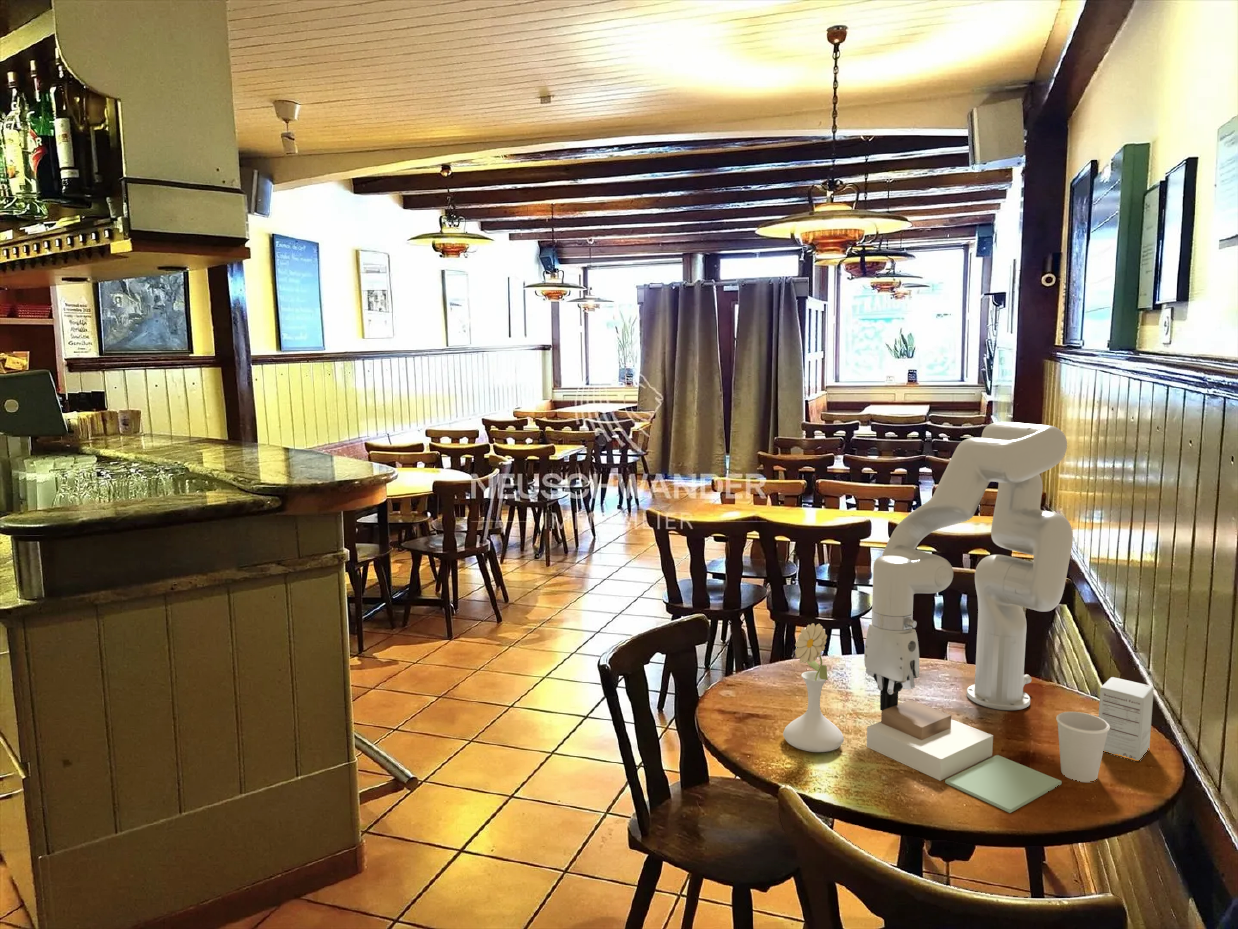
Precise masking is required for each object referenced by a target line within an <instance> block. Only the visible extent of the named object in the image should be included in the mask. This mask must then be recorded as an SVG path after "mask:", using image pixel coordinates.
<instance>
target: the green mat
mask: <svg viewBox="0 0 1238 929" xmlns="http://www.w3.org/2000/svg"><path fill="white" fill-rule="evenodd" d="M944 780H945V782H944V783H945V784H947V785H948V786H951V787H952V788H955V789H957V790H959V791H961V792H964V793H966V794H968V795H970V796H972V797H974V798H976V799H979V800H981V801H983V802H985V803H988V804H990V805H992V806H994V807H996V808H998V809H1001V810H1003V811H1005V812H1007V813H1009V814H1011V813H1013V812H1015V811H1016V810H1018V809H1020V808H1021V807H1024V806H1025V805H1027V804H1029V803H1031V802H1033V801H1034V800H1036V799H1038V798H1039V797H1041V796H1044V795H1045V794H1047V793H1048V791H1049V792H1050V791H1052V790H1054V789H1056V788H1057V786H1058V785H1059V786H1061V785H1062V780H1061V779H1058V778H1055V777H1052V776H1050V775H1047V774H1045V773H1043V772H1040V771H1038V770H1037V769H1033V768H1031V767H1028V766H1026V765H1023V764H1020V763H1019V762H1016V761H1013V760H1011V759H1008V758H1007V757H1003V756H1001V755H999V754H996V755H993V756H991V757H988V758H986V759H984V760H982V761H980V762H978V763H976V764H974V765H972V766H970V767H968V768H966V769H964V770H962V771H960V772H957V773H955V774H953V775H951V776H949V777H947V778H945V779H944ZM1059 786H1058V787H1059ZM1055 787H1056V788H1055Z"/></svg>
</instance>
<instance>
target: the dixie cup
mask: <svg viewBox="0 0 1238 929" xmlns="http://www.w3.org/2000/svg"><path fill="white" fill-rule="evenodd" d="M1055 719H1056V722H1057V732H1058V744H1059V745H1058V746H1059V747H1058V748H1059V757H1060V758H1059V759H1060V761H1059V762H1060V771H1061V773H1062V775H1063V776H1064V775H1065V776H1064V777H1066V778H1068V779H1069V780H1072V779H1073V780H1072V781H1075V780H1077V781H1076V782H1079V781H1080V783H1091V782H1090V781H1094V780H1096V779H1097V780H1098V778H1099V777H1098V776H1099V773H1100V772H1099V771H1100V769H1101V768H1100V767H1101V764H1102V758H1103V755H1104V752H1103V751H1104V746H1105V742H1106V737H1107V733H1108V731H1109V729H1110V726H1109V724H1108V723H1107V722H1106V721H1105V720H1103V719H1101V718H1099V717H1098V716H1097V715H1094V714H1090V713H1086V712H1082V711H1081V712H1080V711H1064V712H1061V713H1058V714H1057V715H1056V717H1055ZM1097 780H1096V781H1097ZM1094 782H1095V781H1094Z"/></svg>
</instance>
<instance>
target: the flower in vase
mask: <svg viewBox="0 0 1238 929" xmlns="http://www.w3.org/2000/svg"><path fill="white" fill-rule="evenodd" d="M827 638H828V635H827V634H826V630H825V629H824V627H823V626H822V625H821V624H820V623H818V624H816V625H815V623H811V624H808V625H806V628H802V629H801V631H800V634H799V635H798V637H797V641H796V642H795V644H794V645H795V647H796V649H795V652H794V655H795V658H796V659H799V663H800V664H802V663H803V664H807V665H808V666H810V667H811V668H812V669H814V670H809V671H804V672H802V673H801V675H800V676H801V678H802V679H803V681H804V684H805V686H806V689H807V699H808V700H807V703H808V704H807V709H806V711H805V712H804V713H803V714H802V715H800V716H798V717H797V718H795V719H793V720H792V721H791V722H789V723H788V724H787V725H786V726H785V728H784V730H783V732H782V736H783V738H784V740H785V741H786V743H787V744H788V745H790V746H792V747H794V748H796V749H798V750H802V751H805V752H811V753H825V752H826V753H827V752H832V751H835V750H837V749H839V748H840V747H841V746H842V744H843V743H844V740H845V738H844V734H843V732H842V730H840V728H839V727H838V726H837V725H836V724H834V723H833V722H832V721H831V720H830V719H828V718H827V717H826V716H824V714H823V712H822V711H821V696H822V691H823V690H822V689H823V686H824V685H825V683H826V682H827V681H828V680H829V676H828V666H827V665H826V664H825V665H824V664H823V659H822V655H821V654H822V652H823V651H825V648H826V646H825V645H826V643H827ZM817 658H819V661H820V664H819V663H818V662H817V661H816V660H817Z"/></svg>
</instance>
